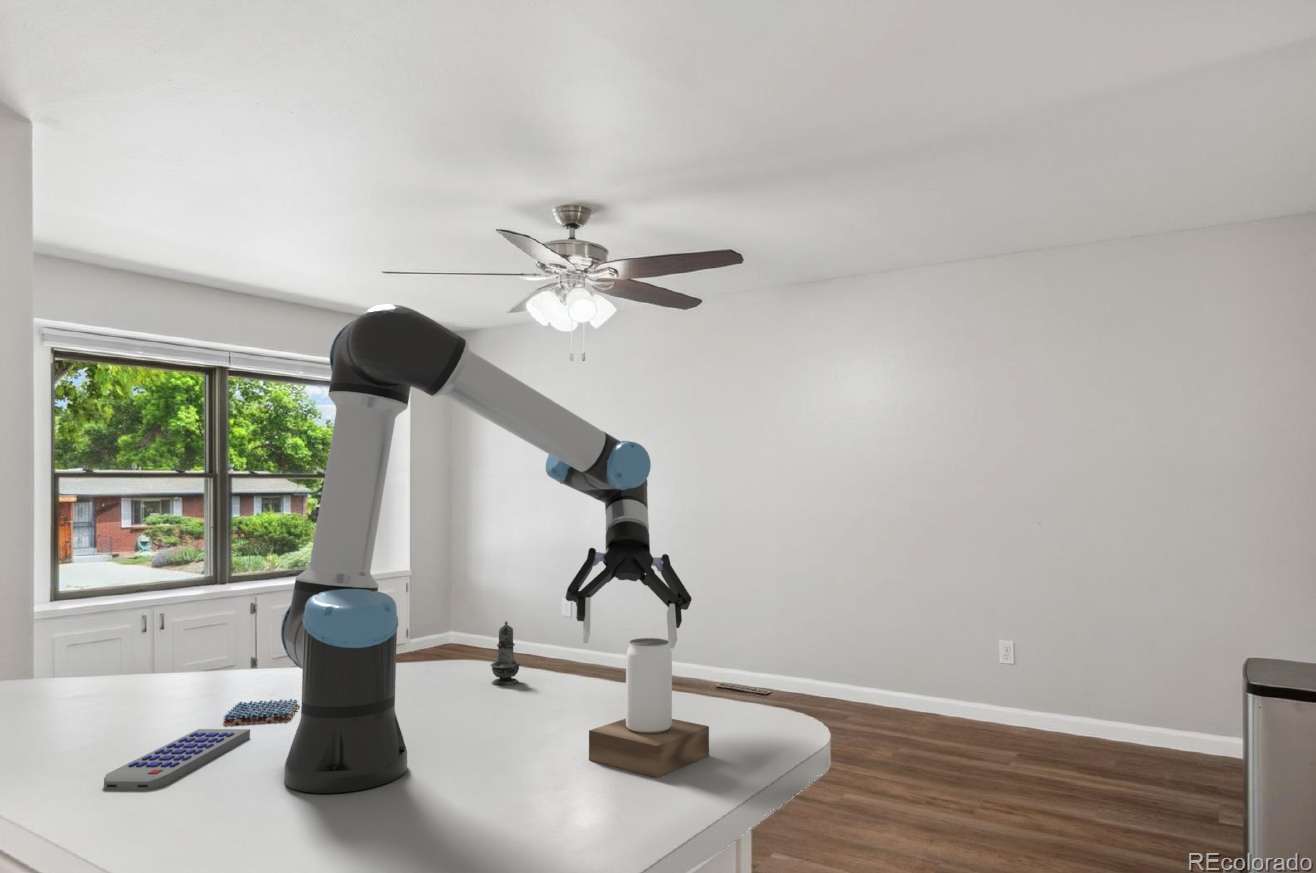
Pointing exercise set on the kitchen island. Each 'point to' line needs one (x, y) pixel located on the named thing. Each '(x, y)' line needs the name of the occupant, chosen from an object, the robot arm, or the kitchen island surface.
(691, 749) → the walnut stand
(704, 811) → the kitchen island surface
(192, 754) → the remote control
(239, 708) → the woven mat
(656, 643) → the can
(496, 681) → the salt shaker
